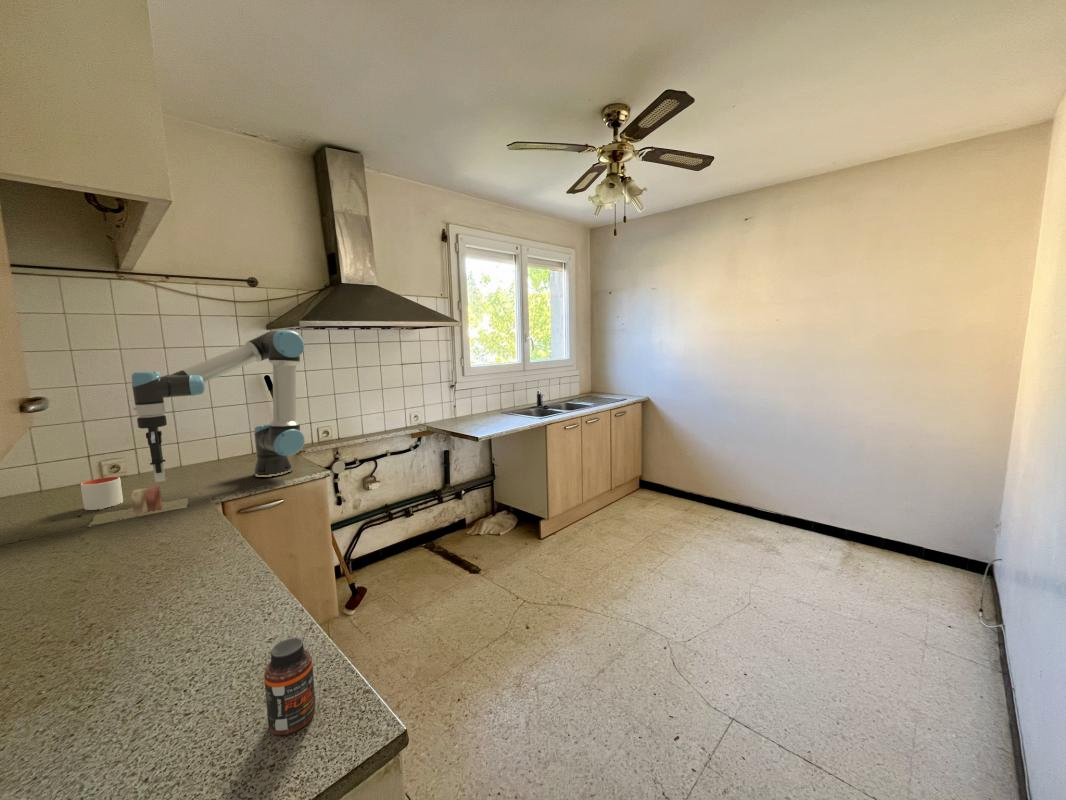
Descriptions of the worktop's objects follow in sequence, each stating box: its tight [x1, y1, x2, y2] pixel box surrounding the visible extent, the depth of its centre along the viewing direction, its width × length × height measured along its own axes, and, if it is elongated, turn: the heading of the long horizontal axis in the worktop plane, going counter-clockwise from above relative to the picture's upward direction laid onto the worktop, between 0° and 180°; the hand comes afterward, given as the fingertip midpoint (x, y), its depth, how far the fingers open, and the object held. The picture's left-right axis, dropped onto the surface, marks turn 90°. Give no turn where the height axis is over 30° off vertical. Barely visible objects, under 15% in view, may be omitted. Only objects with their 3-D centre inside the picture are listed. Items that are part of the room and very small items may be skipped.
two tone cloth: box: [130, 485, 163, 514], centre depth 147 cm, size 7×7×7 cm
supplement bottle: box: [263, 637, 316, 736], centre depth 60 cm, size 6×6×11 cm
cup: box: [80, 476, 124, 511], centre depth 152 cm, size 10×10×10 cm
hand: (160, 481), depth 149 cm, fingers closed
